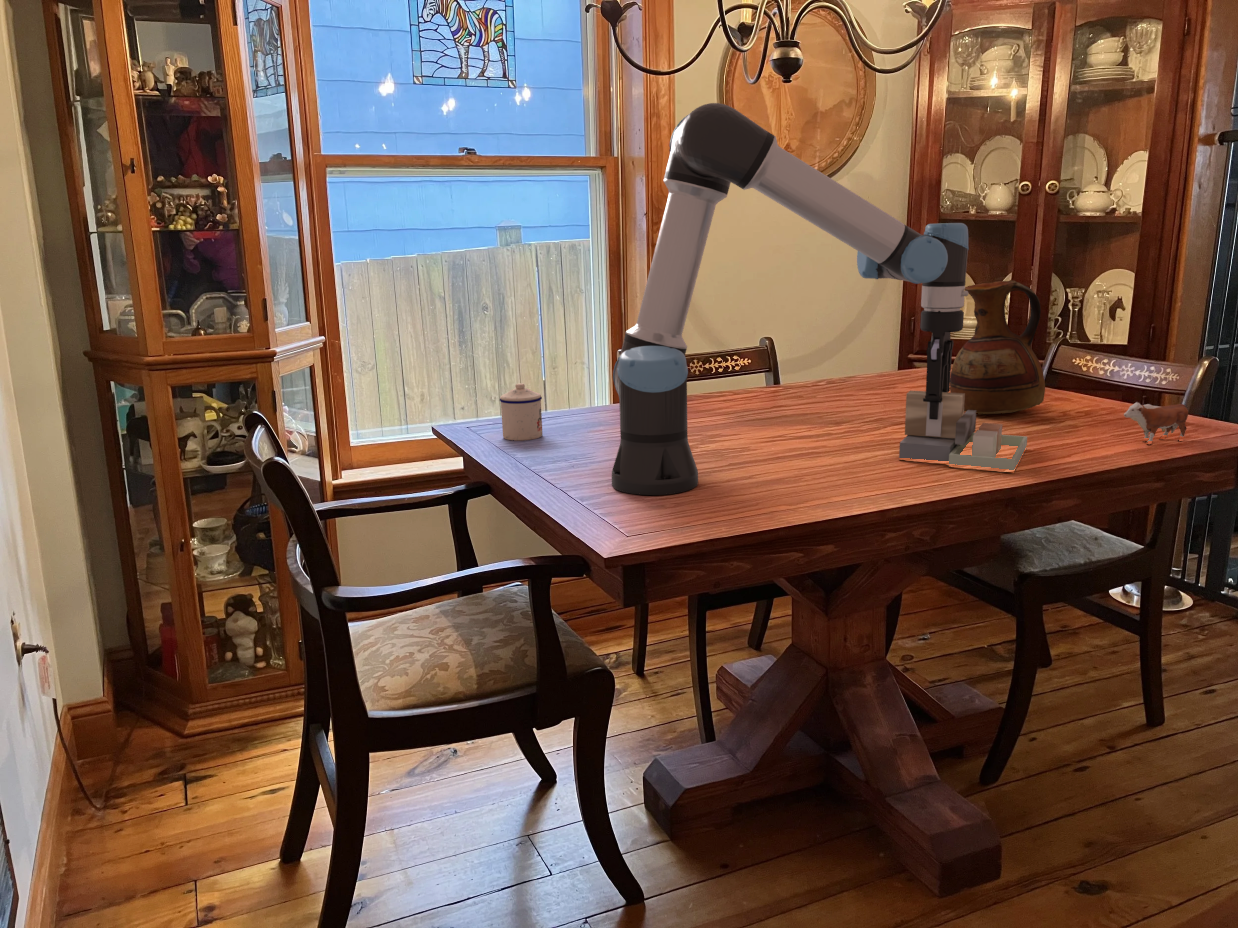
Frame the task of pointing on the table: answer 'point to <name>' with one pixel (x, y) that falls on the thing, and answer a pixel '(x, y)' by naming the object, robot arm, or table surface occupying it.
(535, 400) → the teacup with lid
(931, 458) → the slate board
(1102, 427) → the table surface
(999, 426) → the reddish brown block
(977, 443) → the light grey block
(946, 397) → the beige slab
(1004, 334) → the ceramic pitcher
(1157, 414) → the bull figurine
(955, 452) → the tray
